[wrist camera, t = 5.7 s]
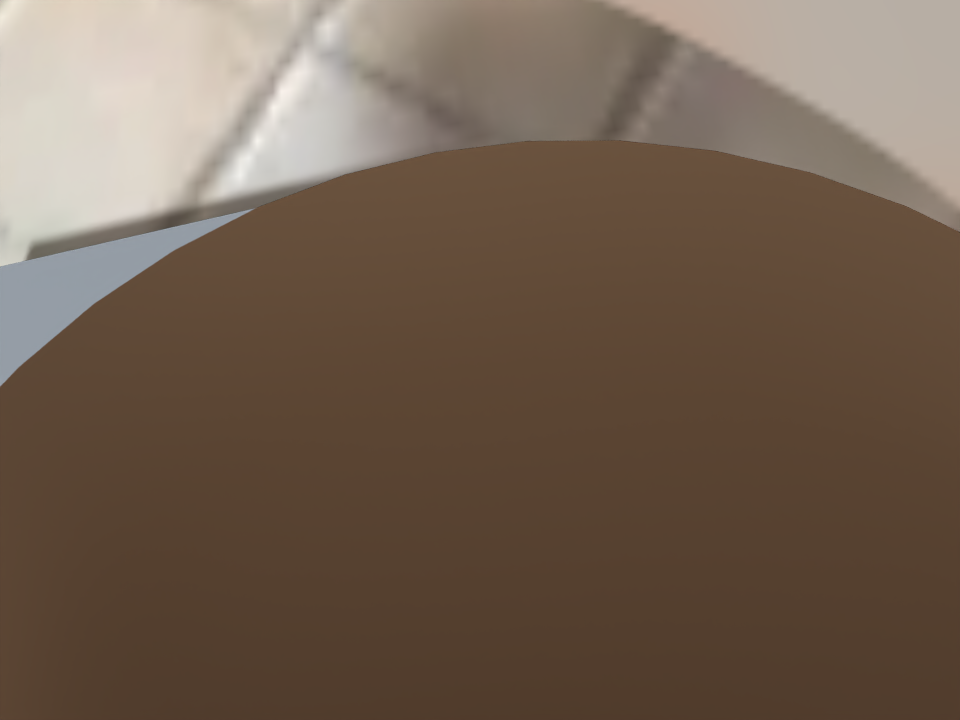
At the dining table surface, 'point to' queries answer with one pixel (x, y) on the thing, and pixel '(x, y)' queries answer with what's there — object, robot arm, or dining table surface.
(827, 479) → the walnut column
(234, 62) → the dining table surface
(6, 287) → the baseplate
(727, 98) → the dining table surface
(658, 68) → the dining table surface
